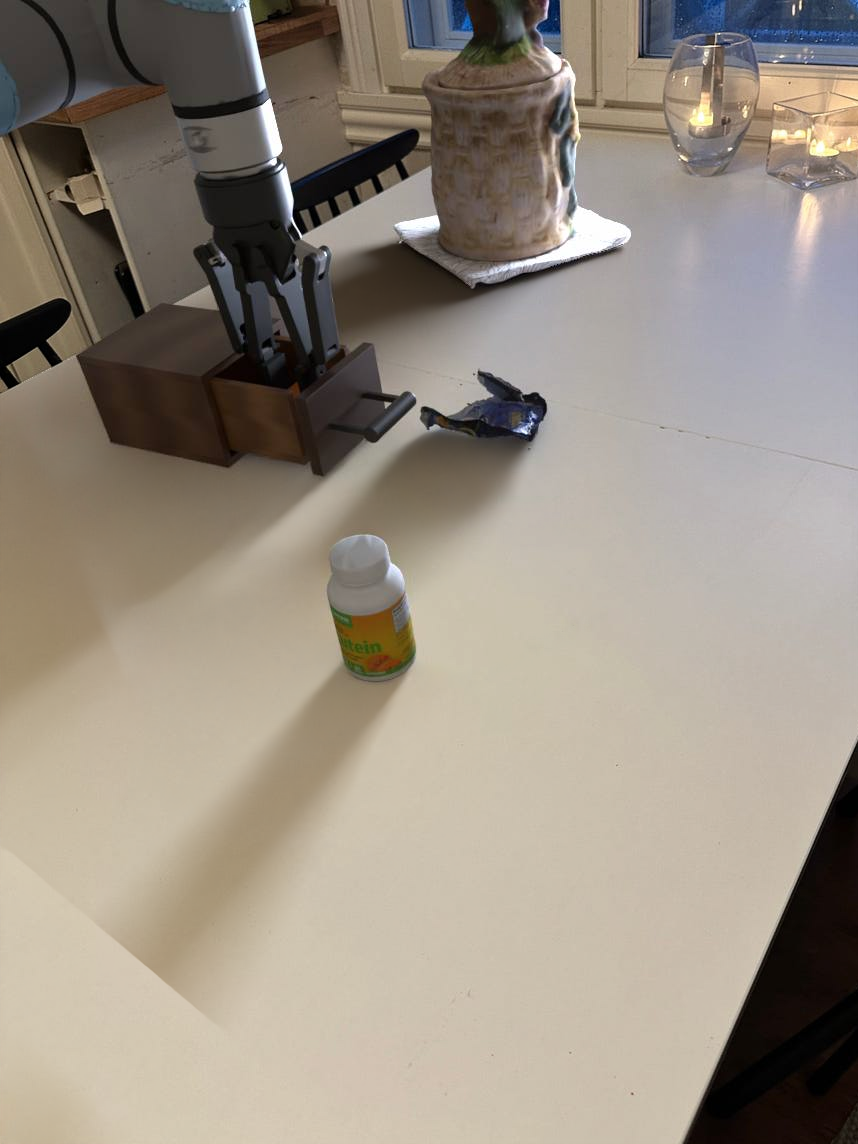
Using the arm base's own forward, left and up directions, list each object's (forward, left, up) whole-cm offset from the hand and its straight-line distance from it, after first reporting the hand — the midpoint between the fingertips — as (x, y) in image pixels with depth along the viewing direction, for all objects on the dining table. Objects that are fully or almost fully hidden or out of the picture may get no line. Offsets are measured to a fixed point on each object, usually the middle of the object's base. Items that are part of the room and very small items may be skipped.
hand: (305, 423), depth 93 cm
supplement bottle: (+23, -24, -3) cm, 33 cm away
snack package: (+16, +8, -3) cm, 18 cm away
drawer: (+1, 0, -1) cm, 2 cm away
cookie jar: (-4, +54, -3) cm, 54 cm away
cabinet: (-13, 0, -2) cm, 13 cm away
